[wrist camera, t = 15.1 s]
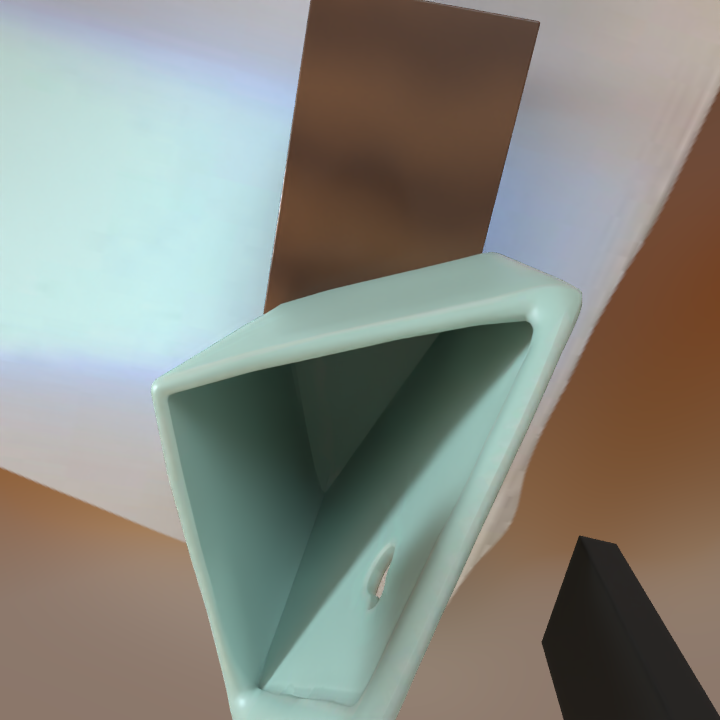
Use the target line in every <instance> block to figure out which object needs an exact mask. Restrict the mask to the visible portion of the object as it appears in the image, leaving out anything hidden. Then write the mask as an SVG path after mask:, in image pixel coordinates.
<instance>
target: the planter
mask: <svg viewBox="0 0 720 720" xmlns="http://www.w3.org/2000/svg"><path fill="white" fill-rule="evenodd" d="M581 307H582V292H581V291H580V290H579V289H577V288H575V287H574V286H572V285H570V284H568V283H566V282H565V281H563V280H561V279H559V278H556V277H554V276H552V275H549V274H547V273H544V272H542V271H540V270H537V269H535V268H532V267H530V266H528V265H525V264H523V263H521V262H518V261H516V260H513V259H511V258H509V257H506V256H504V255H501V254H499V253H494V252H488V253H481V254H477V255H473V256H469V257H465V258H462V259H458V260H453V261H449V262H445V263H441V264H437V265H433V266H428V267H424V268H420V269H416V270H412V271H407V272H403V273H399V274H394V275H390V276H386V277H381V278H377V279H373V280H369V281H364V282H360V283H356V284H352V285H347V286H343V287H339V288H335V289H330V290H327V291H323V292H320V293H317V294H313V295H310V296H306V297H303V298H300V299H296V300H293V301H289V302H286V303H283V304H280V305H279V306H277V307H276V308H274V309H272V310H271V311H269V312H267V313H266V314H264V315H262V316H260V317H259V318H257V319H255V320H253V321H252V322H250V323H248V324H246V325H245V326H243V327H241V328H239V329H238V330H236V331H234V332H233V333H231V334H230V335H228V336H226V337H225V338H223V339H221V340H220V341H218V342H216V343H215V344H213V345H212V346H210V347H208V348H207V349H205V350H203V351H202V352H200V353H199V354H197V355H195V356H194V357H192V358H190V359H189V360H187V361H186V362H184V363H182V364H181V365H179V366H177V367H176V368H174V369H172V370H170V371H169V372H167V373H165V374H164V375H162V376H160V377H159V378H157V379H156V380H155V381H154V382H153V384H152V386H151V395H152V400H153V405H154V410H155V415H156V420H157V425H158V430H159V435H160V439H161V444H162V449H163V454H164V459H165V464H166V469H167V474H168V479H169V483H170V486H171V490H172V493H173V497H174V501H175V504H176V508H177V511H178V515H179V518H180V522H181V526H182V529H183V533H184V536H185V540H186V543H187V547H188V550H189V554H190V557H191V561H192V564H193V567H194V571H195V574H196V577H197V581H198V584H199V588H200V591H201V594H202V598H203V601H204V604H205V608H206V611H207V614H208V618H209V622H210V626H211V630H212V634H213V638H214V642H215V646H216V649H217V654H218V657H219V661H220V665H221V669H222V674H223V678H224V682H225V686H226V690H227V695H228V701H229V706H230V711H231V714H232V719H233V720H396V718H397V716H398V713H399V711H400V709H401V707H402V705H403V703H404V700H405V698H406V696H407V693H408V691H409V688H410V686H411V684H412V681H413V679H414V677H415V674H416V672H417V670H418V668H419V666H420V663H421V661H422V659H423V657H424V654H425V652H426V650H427V648H428V645H429V643H430V641H431V638H432V636H433V634H434V632H435V630H436V627H437V625H438V623H439V620H440V618H441V616H442V614H443V612H444V610H445V607H446V605H447V603H448V601H449V599H450V597H451V594H452V592H453V590H454V588H455V586H456V584H457V581H458V579H459V577H460V575H461V572H462V570H463V568H464V566H465V564H466V561H467V559H468V557H469V555H470V553H471V550H472V548H473V546H474V544H475V541H476V539H477V537H478V535H479V533H480V531H481V528H482V526H483V524H484V522H485V520H486V518H487V516H488V514H489V511H490V509H491V507H492V505H493V503H494V501H495V499H496V496H497V494H498V492H499V490H500V488H501V486H502V484H503V481H504V479H505V477H506V475H507V473H508V471H509V468H510V466H511V464H512V462H513V460H514V458H515V455H516V453H517V451H518V449H519V447H520V445H521V443H522V441H523V438H524V436H525V434H526V432H527V430H528V428H529V426H530V423H531V421H532V419H533V417H534V414H535V412H536V410H537V408H538V405H539V403H540V401H541V399H542V397H543V394H544V392H545V390H546V387H547V385H548V383H549V381H550V378H551V376H552V374H553V371H554V369H555V367H556V365H557V362H558V360H559V358H560V355H561V353H562V351H563V349H564V347H565V345H566V343H567V341H568V339H569V337H570V335H571V332H572V330H573V328H574V326H575V323H576V321H577V319H578V316H579V314H580V310H581ZM390 563H391V564H390ZM389 565H390V567H389V569H388V572H387V576H386V580H385V586H384V590H383V593H382V595H381V597H380V599H379V598H378V597H377V596H376V593H377V590H378V587H379V584H380V582H381V580H382V577H383V575H384V573H385V571H386V569H387V568H388V566H389Z"/></svg>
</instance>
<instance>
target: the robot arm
mask: <svg viewBox="0 0 720 720" xmlns="http://www.w3.org/2000/svg"><path fill="white" fill-rule="evenodd" d="M542 645H543V649H544V652H545V656H546V659H547V663H548V666H549V670H550V673H551V677H552V680H553V684H554V687H555V691H556V694H557V698H558V701H559V705H560V708H561V712H562V715H563V719H564V720H720V716H719V715H718V713H717V711H716V710H715V708H714V706H713V705H712V703H711V701H710V700H709V698H708V696H707V695H706V693H705V691H704V690H703V688H702V686H701V685H700V683H699V681H698V680H697V678H696V676H695V675H694V673H693V671H692V670H691V668H690V666H689V665H688V663H687V661H686V660H685V658H684V656H683V655H682V653H681V651H680V650H679V648H678V646H677V645H676V643H675V641H674V640H673V638H672V636H671V635H670V633H669V631H668V630H667V628H666V626H665V625H664V623H663V621H662V620H661V618H660V616H659V615H658V613H657V611H656V610H655V608H654V606H653V604H652V603H651V601H650V600H649V598H648V596H647V595H646V593H645V591H644V589H643V588H642V586H641V585H640V583H639V581H638V579H637V578H636V576H635V575H634V573H633V571H632V570H631V568H630V566H629V564H628V563H627V561H626V559H625V558H624V556H623V554H622V553H621V551H620V549H619V548H618V546H617V545H616V544H614V543H610V542H605V541H600V540H596V539H592V538H588V537H583V536H579V538H578V541H577V543H576V546H575V549H574V552H573V555H572V557H571V560H570V563H569V566H568V569H567V572H566V574H565V577H564V580H563V583H562V586H561V589H560V591H559V595H558V597H557V600H556V603H555V606H554V609H553V611H552V614H551V617H550V620H549V623H548V625H547V629H546V631H545V634H544V637H543V640H542Z"/></svg>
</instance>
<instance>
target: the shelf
mask: <svg viewBox="0 0 720 720" xmlns="http://www.w3.org/2000/svg"><path fill="white" fill-rule="evenodd" d="M539 26H540V22H539V21H534V20H529V19H523V18H518V17H512V16H507V15H501V14H496V13H490V12H485V11H479V10H474V9H468V8H463V7H457V6H452V5H446V4H441V3H435V2H429V1H424V0H311V1H310V7H309V14H308V21H307V27H306V34H305V41H304V47H303V54H302V61H301V67H300V74H299V80H298V87H297V94H296V100H295V107H294V114H293V120H292V127H291V134H290V140H289V147H288V154H287V160H286V167H285V173H284V180H283V187H282V193H281V200H280V207H279V213H278V220H277V227H276V233H275V240H274V247H273V253H272V260H271V266H270V273H269V280H268V286H267V293H266V300H265V306H264V313H263V315H264V314H266V313H267V312H269V311H271V310H272V309H274V308H276V307H277V306H279V305H280V304H283V303H286V302H289V301H293V300H296V299H300V298H303V297H306V296H310V295H313V294H317V293H320V292H323V291H327V290H330V289H335V288H339V287H343V286H347V285H352V284H356V283H360V282H364V281H369V280H373V279H377V278H381V277H386V276H390V275H394V274H399V273H403V272H407V271H412V270H416V269H420V268H424V267H428V266H433V265H437V264H441V263H445V262H449V261H453V260H458V259H462V258H465V257H469V256H473V255H477V254H481V253H482V251H483V247H484V243H485V239H486V235H487V232H488V228H489V224H490V220H491V216H492V212H493V208H494V204H495V200H496V196H497V192H498V188H499V184H500V180H501V176H502V172H503V168H504V164H505V160H506V156H507V152H508V149H509V145H510V141H511V137H512V133H513V129H514V125H515V121H516V117H517V113H518V109H519V105H520V101H521V97H522V93H523V89H524V85H525V81H526V77H527V73H528V70H529V66H530V62H531V58H532V54H533V50H534V46H535V42H536V38H537V34H538V30H539Z"/></svg>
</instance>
